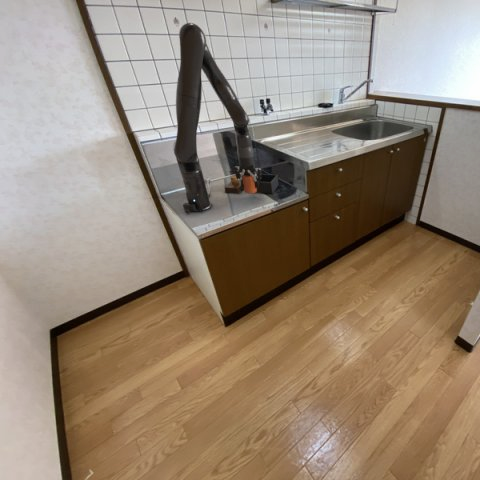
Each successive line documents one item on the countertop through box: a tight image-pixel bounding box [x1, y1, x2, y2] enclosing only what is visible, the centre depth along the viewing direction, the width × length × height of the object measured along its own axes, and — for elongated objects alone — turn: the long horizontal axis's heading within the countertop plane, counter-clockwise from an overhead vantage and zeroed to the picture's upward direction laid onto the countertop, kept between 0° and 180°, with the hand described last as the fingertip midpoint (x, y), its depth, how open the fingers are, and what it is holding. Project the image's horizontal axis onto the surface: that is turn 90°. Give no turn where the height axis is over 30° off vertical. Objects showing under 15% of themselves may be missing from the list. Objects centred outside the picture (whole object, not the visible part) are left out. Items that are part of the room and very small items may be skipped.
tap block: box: [224, 179, 244, 194], centre depth 154 cm, size 11×8×3 cm
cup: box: [242, 174, 257, 194], centre depth 139 cm, size 6×6×9 cm
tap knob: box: [229, 174, 239, 185], centre depth 152 cm, size 4×4×5 cm
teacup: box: [204, 178, 212, 196], centre depth 146 cm, size 14×11×8 cm
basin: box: [255, 172, 280, 195], centre depth 153 cm, size 12×14×6 cm
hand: (250, 186), depth 141 cm, fingers closed on cup, 6 cm apart
